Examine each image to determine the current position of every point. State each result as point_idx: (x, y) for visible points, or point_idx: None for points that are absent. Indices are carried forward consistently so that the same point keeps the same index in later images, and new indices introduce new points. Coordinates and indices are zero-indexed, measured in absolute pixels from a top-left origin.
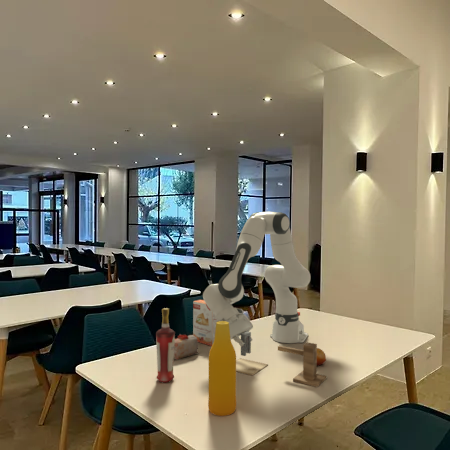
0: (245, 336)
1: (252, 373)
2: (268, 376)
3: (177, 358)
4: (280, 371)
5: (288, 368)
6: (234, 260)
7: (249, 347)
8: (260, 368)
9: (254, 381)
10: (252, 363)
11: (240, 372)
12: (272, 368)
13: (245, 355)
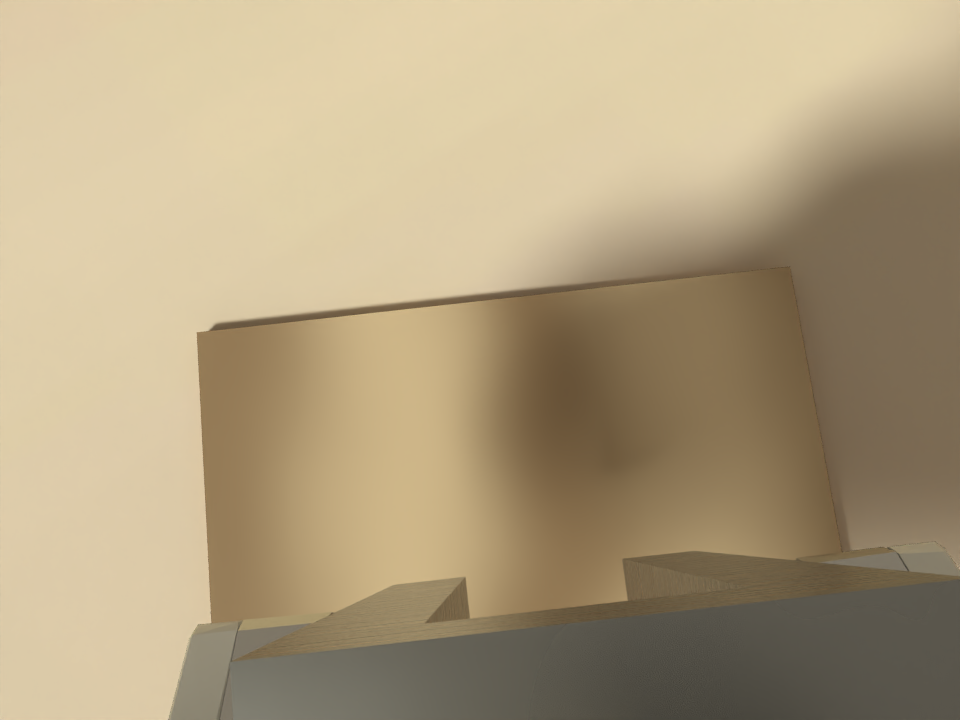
0: (863, 579)
1: (741, 294)
2: (623, 64)
3: None
4: (320, 35)
5: (124, 8)
6: None
7: (446, 587)
8: (458, 320)
9: (938, 114)
10: (339, 583)
11: (828, 502)
12: (285, 198)
13: (660, 555)
